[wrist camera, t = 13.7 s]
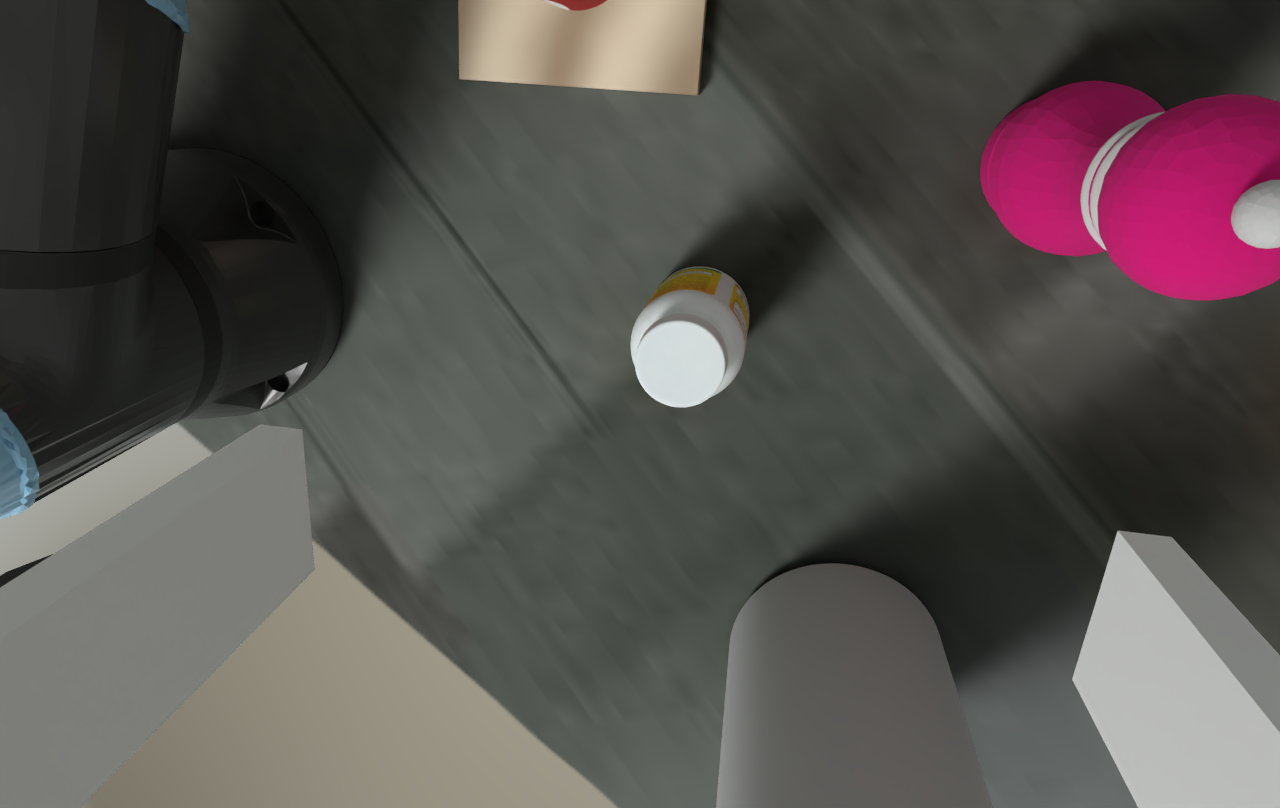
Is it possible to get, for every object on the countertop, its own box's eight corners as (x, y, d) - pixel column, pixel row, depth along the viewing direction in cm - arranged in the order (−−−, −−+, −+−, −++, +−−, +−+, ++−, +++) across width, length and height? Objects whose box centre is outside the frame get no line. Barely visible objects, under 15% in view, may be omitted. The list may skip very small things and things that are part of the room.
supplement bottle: (770, 304, 44) (769, 356, 35) (708, 379, 46) (693, 446, 37) (689, 243, 43) (667, 279, 34) (631, 321, 45) (596, 375, 36)
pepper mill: (974, 87, 39) (1159, 75, 20) (1140, 78, 38) (1498, 54, 19) (963, 242, 41) (1118, 357, 23) (1119, 237, 40) (1416, 354, 22)
